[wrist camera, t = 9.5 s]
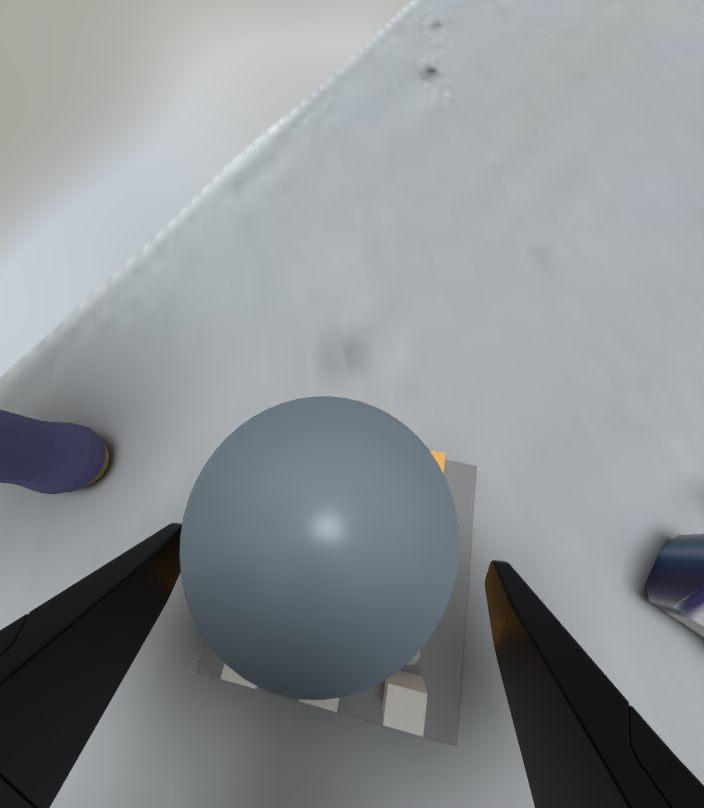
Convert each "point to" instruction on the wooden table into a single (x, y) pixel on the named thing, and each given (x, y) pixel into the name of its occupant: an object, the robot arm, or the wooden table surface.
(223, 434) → the wooden table surface
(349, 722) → the wooden table surface
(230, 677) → the panel
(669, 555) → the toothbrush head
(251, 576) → the plug
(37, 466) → the rubber mallet
